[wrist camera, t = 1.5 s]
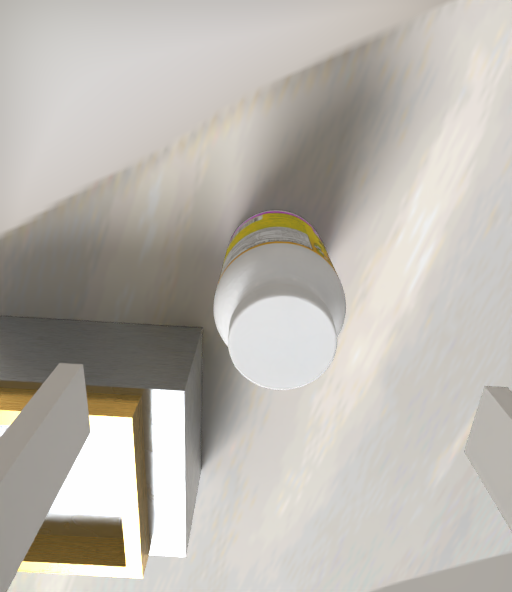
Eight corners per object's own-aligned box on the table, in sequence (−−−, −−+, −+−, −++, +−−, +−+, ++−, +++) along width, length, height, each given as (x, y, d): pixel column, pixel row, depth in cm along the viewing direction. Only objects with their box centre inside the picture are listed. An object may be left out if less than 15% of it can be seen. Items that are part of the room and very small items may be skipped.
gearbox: (202, 327, 33) (178, 412, 23) (201, 470, 38) (180, 585, 29) (-80, 311, 32) (-216, 390, 23) (-41, 457, 38) (-139, 567, 29)
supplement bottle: (315, 303, 32) (346, 417, 20) (224, 294, 32) (200, 404, 20) (330, 211, 29) (374, 280, 17) (231, 202, 29) (207, 264, 17)
